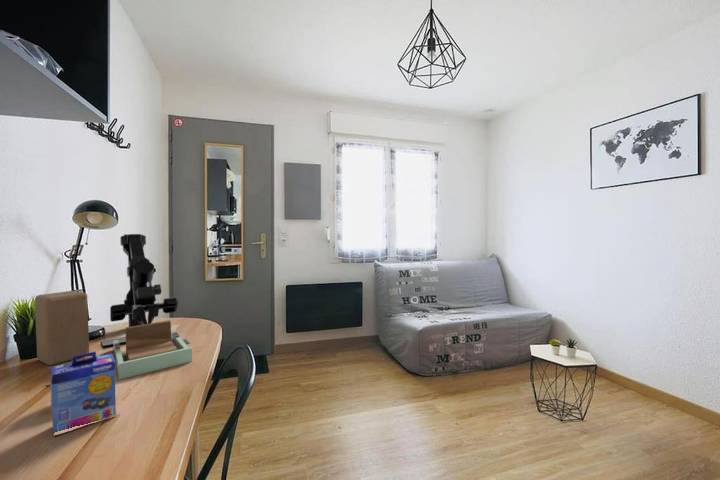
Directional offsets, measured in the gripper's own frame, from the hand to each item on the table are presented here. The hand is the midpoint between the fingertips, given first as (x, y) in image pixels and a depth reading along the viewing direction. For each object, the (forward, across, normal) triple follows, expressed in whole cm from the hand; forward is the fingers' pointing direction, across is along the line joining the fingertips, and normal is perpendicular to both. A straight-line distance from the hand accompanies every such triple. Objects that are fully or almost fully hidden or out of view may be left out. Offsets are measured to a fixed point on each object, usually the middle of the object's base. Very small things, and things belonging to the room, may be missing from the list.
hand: (148, 330), depth 104 cm
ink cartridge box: (+32, -15, -22) cm, 41 cm away
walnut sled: (+9, 0, 0) cm, 9 cm away
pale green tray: (+8, 0, +1) cm, 8 cm away
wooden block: (-3, -21, +13) cm, 25 cm away
